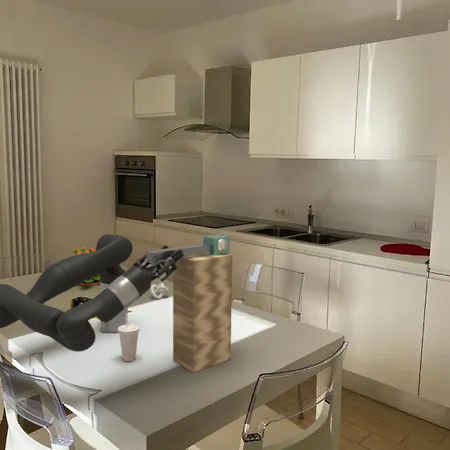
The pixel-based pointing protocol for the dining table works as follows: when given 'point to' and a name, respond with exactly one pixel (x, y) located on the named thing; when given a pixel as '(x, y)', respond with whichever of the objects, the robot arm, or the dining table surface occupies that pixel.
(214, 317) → the stand
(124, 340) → the smoothie
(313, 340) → the dining table surface
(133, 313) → the dining table surface
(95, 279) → the potted flower
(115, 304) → the robot arm
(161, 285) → the knot
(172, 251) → the bar
